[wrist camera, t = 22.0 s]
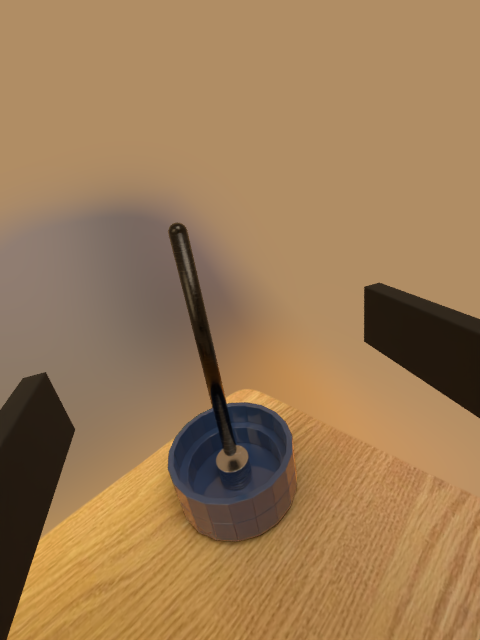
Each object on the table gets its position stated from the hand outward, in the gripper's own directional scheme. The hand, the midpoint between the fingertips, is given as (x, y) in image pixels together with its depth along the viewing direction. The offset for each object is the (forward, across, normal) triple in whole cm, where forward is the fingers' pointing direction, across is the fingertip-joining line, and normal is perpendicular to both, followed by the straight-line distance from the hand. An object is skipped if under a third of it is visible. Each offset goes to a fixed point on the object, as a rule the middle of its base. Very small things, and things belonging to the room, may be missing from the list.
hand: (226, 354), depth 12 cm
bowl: (+9, 0, -19) cm, 21 cm away
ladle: (+10, 0, -18) cm, 21 cm away
